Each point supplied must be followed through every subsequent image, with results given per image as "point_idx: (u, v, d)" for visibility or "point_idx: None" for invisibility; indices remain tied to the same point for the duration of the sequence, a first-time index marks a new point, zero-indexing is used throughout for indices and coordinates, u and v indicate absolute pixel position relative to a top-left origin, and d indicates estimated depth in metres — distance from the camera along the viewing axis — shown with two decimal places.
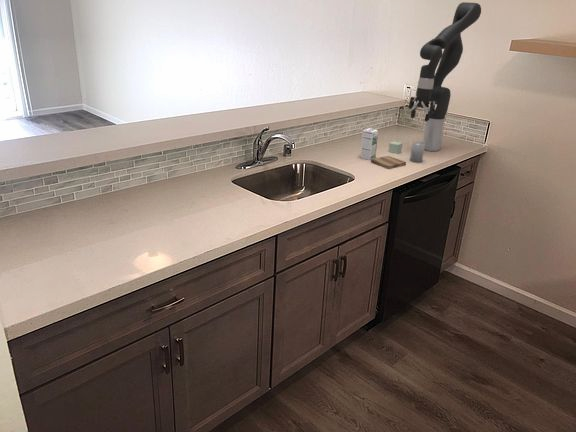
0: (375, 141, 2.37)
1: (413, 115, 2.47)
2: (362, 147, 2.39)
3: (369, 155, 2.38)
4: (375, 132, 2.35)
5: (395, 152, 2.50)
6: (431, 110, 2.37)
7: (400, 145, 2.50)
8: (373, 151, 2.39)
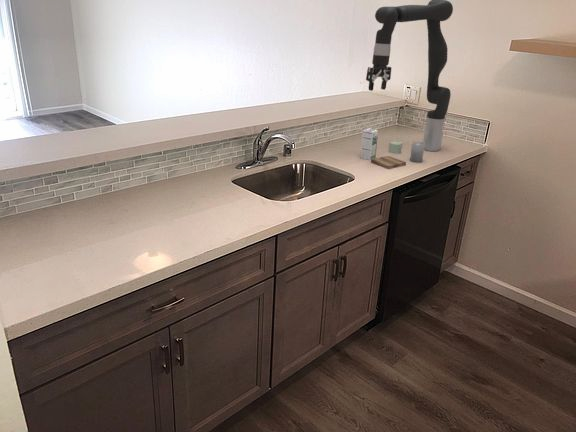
0: (375, 141, 2.37)
1: None
2: (362, 147, 2.39)
3: (369, 155, 2.38)
4: (375, 132, 2.35)
5: (395, 152, 2.50)
6: (390, 76, 2.27)
7: (400, 145, 2.50)
8: (373, 151, 2.39)
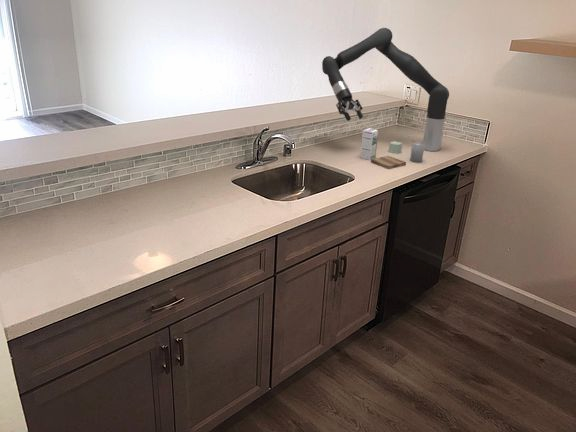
0: (375, 141, 2.37)
1: None
2: (362, 147, 2.39)
3: (369, 155, 2.38)
4: (375, 132, 2.35)
5: (395, 152, 2.50)
6: (361, 106, 2.47)
7: (400, 145, 2.50)
8: (373, 151, 2.39)
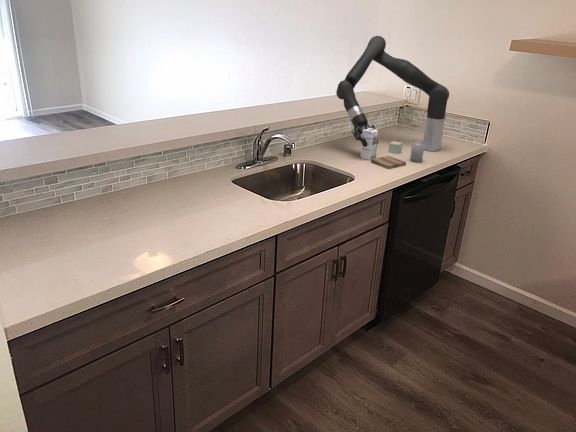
0: (375, 141, 2.37)
1: None
2: (362, 147, 2.39)
3: (369, 155, 2.38)
4: (375, 132, 2.35)
5: (395, 152, 2.50)
6: None
7: (400, 145, 2.50)
8: (373, 151, 2.39)
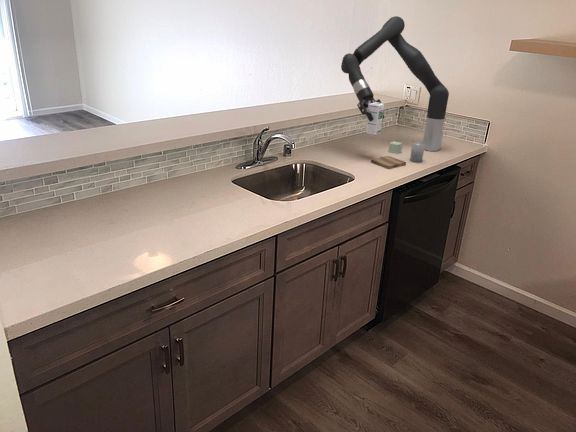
0: (381, 116, 2.30)
1: None
2: (368, 122, 2.32)
3: (375, 130, 2.31)
4: (381, 106, 2.28)
5: (395, 152, 2.50)
6: None
7: (400, 145, 2.50)
8: (379, 126, 2.32)
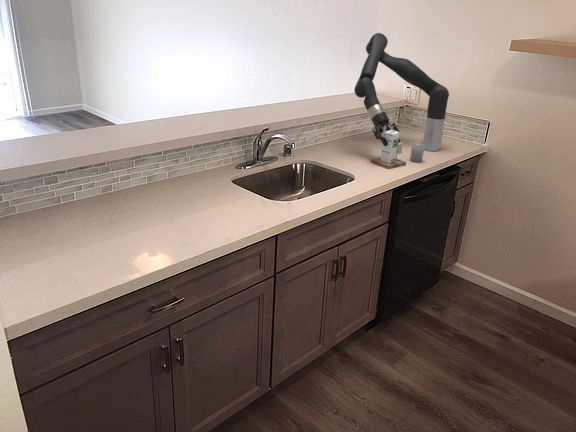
0: (395, 144, 2.28)
1: None
2: (382, 149, 2.31)
3: (389, 158, 2.29)
4: (396, 134, 2.26)
5: None
6: (398, 130, 2.33)
7: (400, 145, 2.50)
8: (394, 154, 2.30)
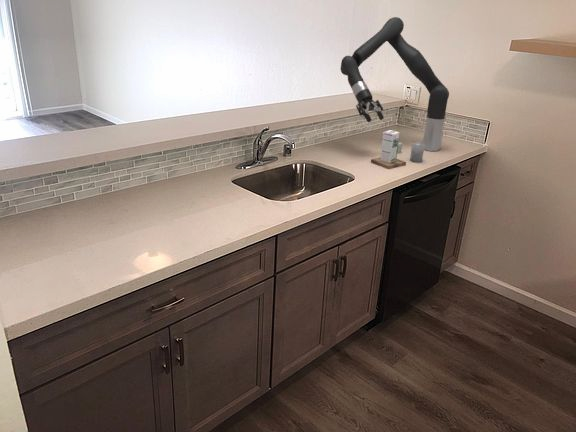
0: (395, 144, 2.28)
1: None
2: (382, 149, 2.31)
3: (389, 158, 2.29)
4: (396, 134, 2.26)
5: None
6: None
7: (400, 145, 2.50)
8: (394, 154, 2.30)
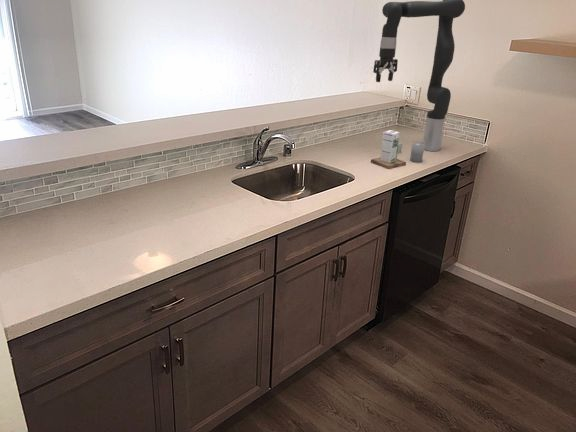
0: (395, 144, 2.28)
1: None
2: (382, 149, 2.31)
3: (389, 158, 2.29)
4: (396, 134, 2.26)
5: None
6: (396, 68, 2.38)
7: (400, 145, 2.50)
8: (394, 154, 2.30)
